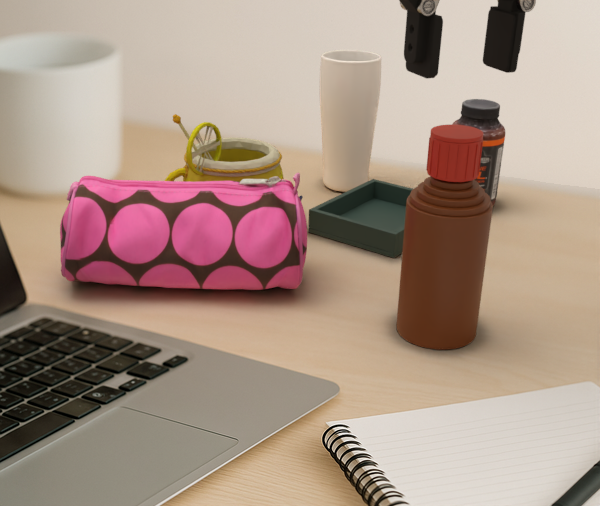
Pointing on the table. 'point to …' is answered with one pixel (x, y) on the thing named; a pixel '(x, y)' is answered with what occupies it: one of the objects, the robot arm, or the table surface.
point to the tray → (365, 217)
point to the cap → (454, 153)
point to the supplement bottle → (486, 140)
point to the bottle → (443, 263)
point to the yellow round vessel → (226, 158)
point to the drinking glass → (348, 115)
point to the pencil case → (185, 233)
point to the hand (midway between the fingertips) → (460, 68)
